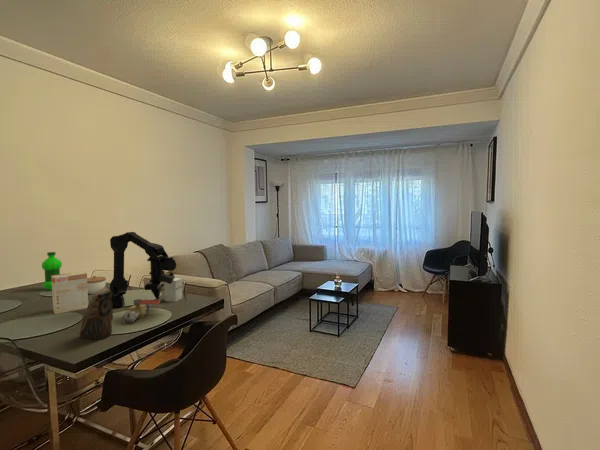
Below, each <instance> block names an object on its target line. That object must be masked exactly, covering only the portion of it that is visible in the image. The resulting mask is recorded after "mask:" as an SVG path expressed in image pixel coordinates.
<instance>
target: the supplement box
mask: <svg viewBox="0 0 600 450" xmlns="http://www.w3.org/2000/svg"><path fill="white" fill-rule="evenodd" d="M163 284H165V285H164V301H165V302H171V303H172V302H173V303H176V302H178V301H180V300H182V299H183V278H182V277H175V278H174V280H173V282H172V283H171V284H168V283H167V282H163Z"/></svg>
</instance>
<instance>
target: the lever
mask: <svg viewBox="0 0 600 450" xmlns="http://www.w3.org/2000/svg"><path fill="white" fill-rule="evenodd" d="M160 303H161V300H160V298H159V299H147V300H144V299H139V298H136V299H133V305H135V306H137V305H141V304H151V305H159V304H160Z"/></svg>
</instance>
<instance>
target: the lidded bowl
mask: <svg viewBox="0 0 600 450" xmlns="http://www.w3.org/2000/svg"><path fill="white" fill-rule="evenodd" d="M106 281H107V277H105V276H96V275H93V276H91V277H87V287H88V295H95V294H96V293H97V292H98V291H99V290H101V289H103V288H104V287H106V284H107V282H106Z"/></svg>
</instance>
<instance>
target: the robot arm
mask: <svg viewBox="0 0 600 450" xmlns="http://www.w3.org/2000/svg"><path fill="white" fill-rule="evenodd" d="M130 242H131V243H133V244H134V245H136V246H137V247H139V248H141V249H143V250H144V252H145V253H146V255H147V256H149V257H148V258H147V259H146V261H147V262H150V272H149V275H150V280H149V282H148V283H146V284H145V285H144V290H145V291H150V292H151V293H152V294H153V295H154V298H155V300H159V299H160V295H161V291H162V288H163V287H165V284H164V282H167V283H168V284H171V283H172V282H173V280H174V278H176V277H175V273H174V272H172V271H175V270H176V268H177V262H176V260H174V257H170V256H169V255H168V253H167V252H166V250H165V248H164V246H163V245H161V244H158V243H155V242H151V241H149V240H147V239H146V238H144V237H142V236H140V235H139V234H137V233H136V232H135V231H129V232H125V233H123V234H120V235H113V236H112V237H110V239H109V245H110V249H111V250H112V252H113V278H112V280H111V282H110V283H109V289H110V291H111V293H112V297H111V302H112V303H113V306H112V308H113V309H120V308H122V307H124V305H125V304H126V303H125V297H124V295H126V293H127V290H128V288H129V280H126V278H125V251H126V249H127V248H128V244H129V243H130ZM165 271H168V272H169V271H171V272H170V273H165Z"/></svg>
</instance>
